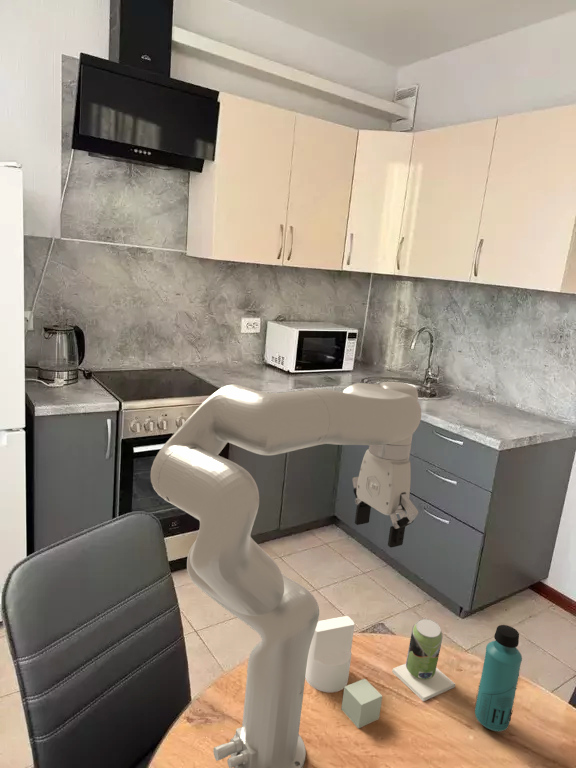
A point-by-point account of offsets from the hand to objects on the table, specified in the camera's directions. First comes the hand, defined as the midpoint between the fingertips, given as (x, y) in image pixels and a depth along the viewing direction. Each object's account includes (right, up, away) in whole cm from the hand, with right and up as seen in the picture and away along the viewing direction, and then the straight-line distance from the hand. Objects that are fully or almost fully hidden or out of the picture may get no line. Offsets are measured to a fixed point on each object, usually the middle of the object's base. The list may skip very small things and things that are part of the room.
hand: (377, 534), depth 106 cm
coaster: (+11, -32, +9) cm, 35 cm away
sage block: (-4, -33, -2) cm, 34 cm away
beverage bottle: (+21, -36, -2) cm, 41 cm away
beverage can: (+10, -32, +9) cm, 34 cm away
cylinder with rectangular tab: (-9, -31, +7) cm, 33 cm away
